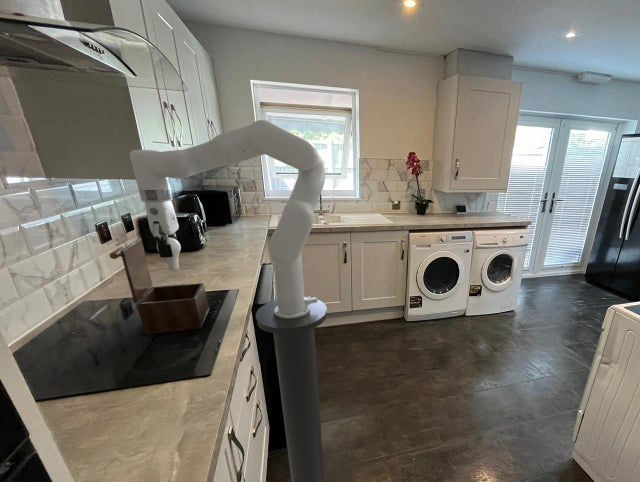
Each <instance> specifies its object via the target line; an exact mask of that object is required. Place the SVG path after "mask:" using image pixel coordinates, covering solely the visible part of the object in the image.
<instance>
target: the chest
mask: <svg viewBox="0 0 640 482" xmlns="http://www.w3.org/2000/svg"><path fill="white" fill-rule="evenodd" d="M135 304H136V308H137V311H138V315H139V317H140V318H139V319H140V321H141V324H142V328H143V331H144V334H145V336H146V335H155V334H164V333H174V332H181V331H191V330H199V329H202V328H203V325H204V324H205V322H206V319H207V316H208V314H209V311H210V307H209V302H208V297H207V293H206V288H205V283H204V282H201V283H200V282H199V283H188V284H174V285H162V286H152V287H151V288H150V289H149V290H148V291H147V293H146V294H145V295H144V296H143V297H142V298H141V299H140V300H139V301H138V303H135Z"/></svg>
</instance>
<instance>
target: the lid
mask: <svg viewBox="0 0 640 482" xmlns="http://www.w3.org/2000/svg"><path fill="white" fill-rule="evenodd" d="M120 257H121V260H122V263H123V267H124V271H125V273H126V278H127V281H128V285H129V289H130V292H131V296H132V299H133V303H134V304H137V303H138V302H139V301H140V300H141V299H142V297H143V296H144V295H145V294H146V293H147V292H148V291H149V290H150V288H151V287H154V286H153V282H152V281H153V280H152V278H151V274H150V269H149V265H148V261H147V257H146V253H145V249H144V244H143V241H142V238H137V239H136V240H135V241H133V242H131V243H130V244H128V245H127V246H126V247H123V246H120V247H118V248H116V249H114V250H113V251H111V252H110V253H109V258H110V259H112V260H116V259H118V258H120Z"/></svg>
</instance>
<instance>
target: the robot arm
mask: <svg viewBox="0 0 640 482" xmlns="http://www.w3.org/2000/svg"><path fill="white" fill-rule="evenodd" d="M264 155H266V156H268V157H269V158H272V159H273V160H277V161H278V162H280V163H282V164H285V165H287V166H289V167H292V168H294V169H296V170H297V171H298V173H297V178H296V181H295V184H294V186H293V190H292V191H291V194H290V196H289V198H288V200H287V202H286V203H285V205H284V206H283V209H282V210H283V211H282V212H281V213H282V214H281V216H280V218H279V221H278V224H277V226H276V228H275V231H273V233H272V234H271V237H270V239H269V244H268V249H269V250H268V251H269V254H270V256H271V258H272V262H273V263H272V264H273V272H274V283H275V291H276V300H278V306H277V307H276V308H275V309H274V313H275V315H276V316H277V317H279V318H283V319H294V318H299V317H302V316H304V315H306V314H307V313H308V312H309V310H310V307H309V305H310V304H311V303H315V302H317V300H318V298H317V297H311V296H305V286H304V284H305V283H304V274H303V272H304V271H303V257H302V251H303V249H304V247H305V244H306V242H307V240H308V237H309V235H310V233H311V231H312V229H313V226H314V221H315V216H314V213H315V209H316V207H317V205H318V202H319V200H320V197H321V194H322V192H323V189H324V186H325V183H326V169H325V165H324V161H323V159H322V157H321V155H320V154H319V151H318V149H317V148H316V145H314V144H313V143H312V142H311V141H308V140H306V139H304V138H302V137H300V136H298V135H295V134H294V133H292V132H291V131H290V132H289V131H287V130H285V129H284V128H282V127H280V126H278V125H276V124H274V123H272V122H270V121H269V120H266V119H258V120H255V121H253V122H252V123H251V124H249V125H246V126H243V127H239V128H236V129H232V130H229V131H225V132H222V133H219V134H217V135H215V136H214V137H213V138H212V139H209V141H206V142H203V143H201V144H197V145H195V146H191V147H187V148H183V149H174V150H165V151H158V150H153V149H132V150H131V151H130V152H129V159H130V162H131V166H132V170H133V174H134V178H135V182H136V185H137V189H138V192H139V197H140V201H141V202H143V203H144V206H145V213H146V217H147V222H148V226H149V230H150V233H151V234H152V235H153V238H154V240H155V242H156V247H157V246H158V250H159V252H158V253H159V257H160V258H163V259H165V257H172V256H173V254H172V249H171V245H170V244H169V242H168V237H170V238H174V239H176V240H177V241H178V238H177V234H176V232H177V231H178V230H179V227H180V225H179V222H178V218H177V214H176V212H175V207H174V205H173V202H172V201H173V194H172V191H171V185H170V182H169V178H170V179H178V180H182V179H186V178H188V177H192V176H196V175H199V174H202V173H204V172H207V171H211V170H214V169H217V168H221V167H224V166H232V165H235V164H240V163H242V162H245V161H248V160H251V159H254V158H257V157H260V156H261V157H262V156H264ZM164 238H165V240H164ZM158 250H157V251H158ZM305 297H307V298H305Z"/></svg>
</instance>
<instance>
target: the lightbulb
mask: <svg viewBox="0 0 640 482" xmlns="http://www.w3.org/2000/svg"><path fill="white" fill-rule="evenodd" d="M163 238H164V240H165V237H163ZM168 242H169V244H170V245H171V249H172V254H173V256H172V257H165V258H164V260H165V261H166V264H167V266H168V269H169V270H170V271H174V272H176V271H178V270H179V268H180V266H179V263H180V262H179V255H180V253H181V249H182V246H181V244H180V242H179V241H178V239H177V240H176V239H174V238H170V237H168ZM156 250H157V252H158V253H159V250H158V246H157V245H156Z"/></svg>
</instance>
